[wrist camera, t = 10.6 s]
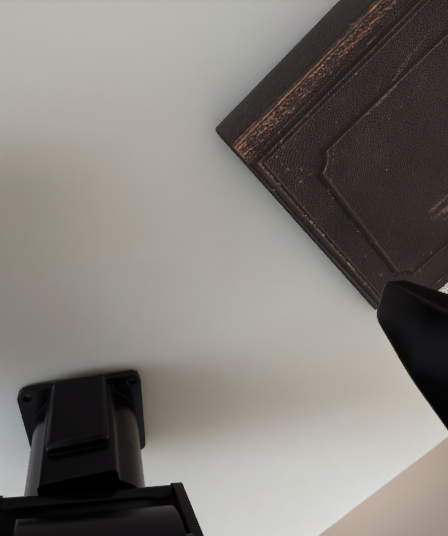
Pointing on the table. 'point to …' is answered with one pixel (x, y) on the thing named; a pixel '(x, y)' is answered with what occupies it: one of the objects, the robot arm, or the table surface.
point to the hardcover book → (359, 140)
